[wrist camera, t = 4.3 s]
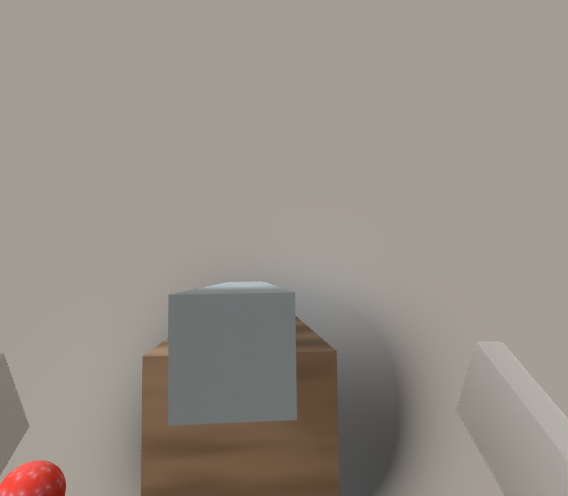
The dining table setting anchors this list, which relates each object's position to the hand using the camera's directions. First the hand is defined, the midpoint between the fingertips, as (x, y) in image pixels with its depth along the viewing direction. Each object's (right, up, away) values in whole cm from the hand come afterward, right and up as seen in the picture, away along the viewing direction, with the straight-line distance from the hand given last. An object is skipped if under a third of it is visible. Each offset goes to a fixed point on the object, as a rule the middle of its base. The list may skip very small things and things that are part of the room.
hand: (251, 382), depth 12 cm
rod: (-2, -2, +14) cm, 14 cm away
